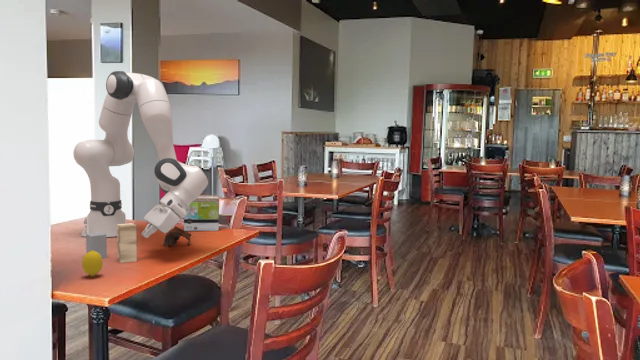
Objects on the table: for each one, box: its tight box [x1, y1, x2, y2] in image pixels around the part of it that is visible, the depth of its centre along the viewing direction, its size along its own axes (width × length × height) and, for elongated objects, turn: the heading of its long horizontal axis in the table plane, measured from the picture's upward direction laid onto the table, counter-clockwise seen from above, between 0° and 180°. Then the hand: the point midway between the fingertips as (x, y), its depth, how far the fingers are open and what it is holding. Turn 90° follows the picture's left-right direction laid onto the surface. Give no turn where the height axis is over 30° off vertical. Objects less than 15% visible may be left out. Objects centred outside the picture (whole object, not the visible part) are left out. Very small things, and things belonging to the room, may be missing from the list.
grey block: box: [85, 232, 108, 259], centre depth 176 cm, size 5×5×8 cm
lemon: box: [81, 250, 104, 278], centre depth 153 cm, size 6×6×8 cm
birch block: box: [116, 222, 138, 264], centre depth 172 cm, size 5×5×12 cm
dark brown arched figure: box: [163, 225, 192, 248], centre depth 196 cm, size 12×10×8 cm
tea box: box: [183, 194, 220, 232], centre depth 229 cm, size 15×10×15 cm, turn 104°
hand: (143, 236), depth 175 cm, fingers closed
